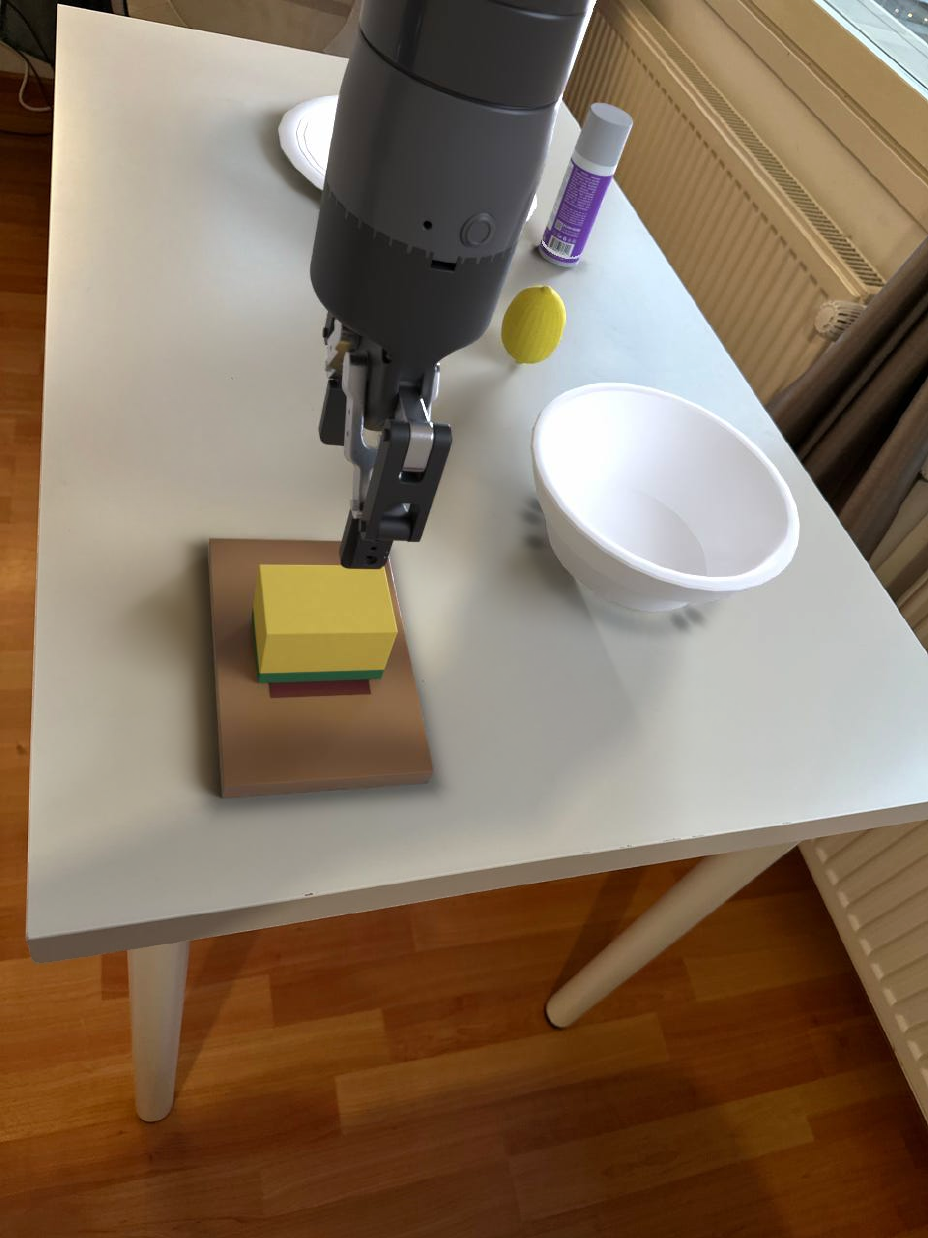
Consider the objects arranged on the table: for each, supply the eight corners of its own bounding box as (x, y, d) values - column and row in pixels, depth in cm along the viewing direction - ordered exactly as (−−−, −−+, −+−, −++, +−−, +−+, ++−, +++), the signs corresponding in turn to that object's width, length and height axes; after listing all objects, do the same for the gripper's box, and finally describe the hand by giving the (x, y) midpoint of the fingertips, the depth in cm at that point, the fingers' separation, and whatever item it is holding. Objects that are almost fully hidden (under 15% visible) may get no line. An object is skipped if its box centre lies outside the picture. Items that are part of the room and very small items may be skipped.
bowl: (764, 532, 76) (818, 463, 70) (715, 706, 62) (777, 639, 56) (549, 423, 77) (583, 345, 71) (455, 569, 64) (487, 489, 58)
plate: (544, 167, 109) (549, 152, 108) (515, 284, 90) (521, 267, 89) (318, 83, 106) (320, 67, 105) (238, 186, 87) (239, 167, 86)
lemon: (490, 338, 83) (517, 261, 77) (546, 352, 84) (576, 278, 78) (490, 373, 80) (517, 296, 74) (548, 387, 81) (579, 312, 75)
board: (428, 783, 53) (435, 771, 51) (222, 799, 49) (223, 786, 47) (382, 555, 63) (386, 540, 61) (207, 552, 59) (208, 536, 57)
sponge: (257, 683, 52) (265, 633, 48) (251, 615, 55) (258, 563, 51) (381, 679, 54) (398, 632, 50) (369, 614, 57) (384, 565, 53)
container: (586, 265, 97) (643, 125, 85) (555, 269, 94) (609, 126, 83) (561, 240, 99) (614, 101, 87) (530, 244, 96) (580, 101, 85)
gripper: (306, 79, 35) (262, 400, 47) (355, 289, 27) (287, 611, 39) (481, 117, 38) (397, 412, 50) (574, 319, 29) (446, 611, 42)
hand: (348, 499), depth 44 cm, fingers open, 8 cm apart
